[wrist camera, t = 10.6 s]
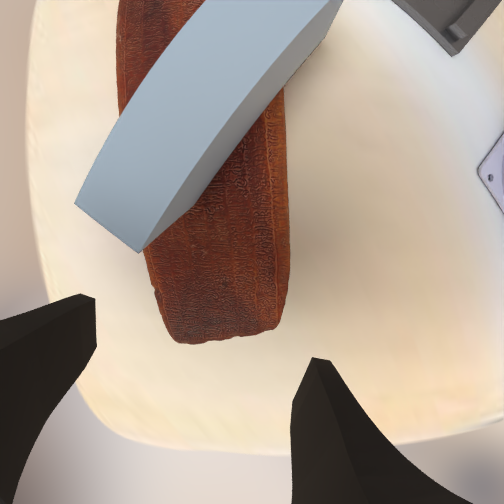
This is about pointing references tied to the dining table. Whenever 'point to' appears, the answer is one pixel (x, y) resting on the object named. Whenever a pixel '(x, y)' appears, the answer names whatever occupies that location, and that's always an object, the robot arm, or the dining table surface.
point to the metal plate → (450, 19)
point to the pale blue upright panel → (197, 110)
